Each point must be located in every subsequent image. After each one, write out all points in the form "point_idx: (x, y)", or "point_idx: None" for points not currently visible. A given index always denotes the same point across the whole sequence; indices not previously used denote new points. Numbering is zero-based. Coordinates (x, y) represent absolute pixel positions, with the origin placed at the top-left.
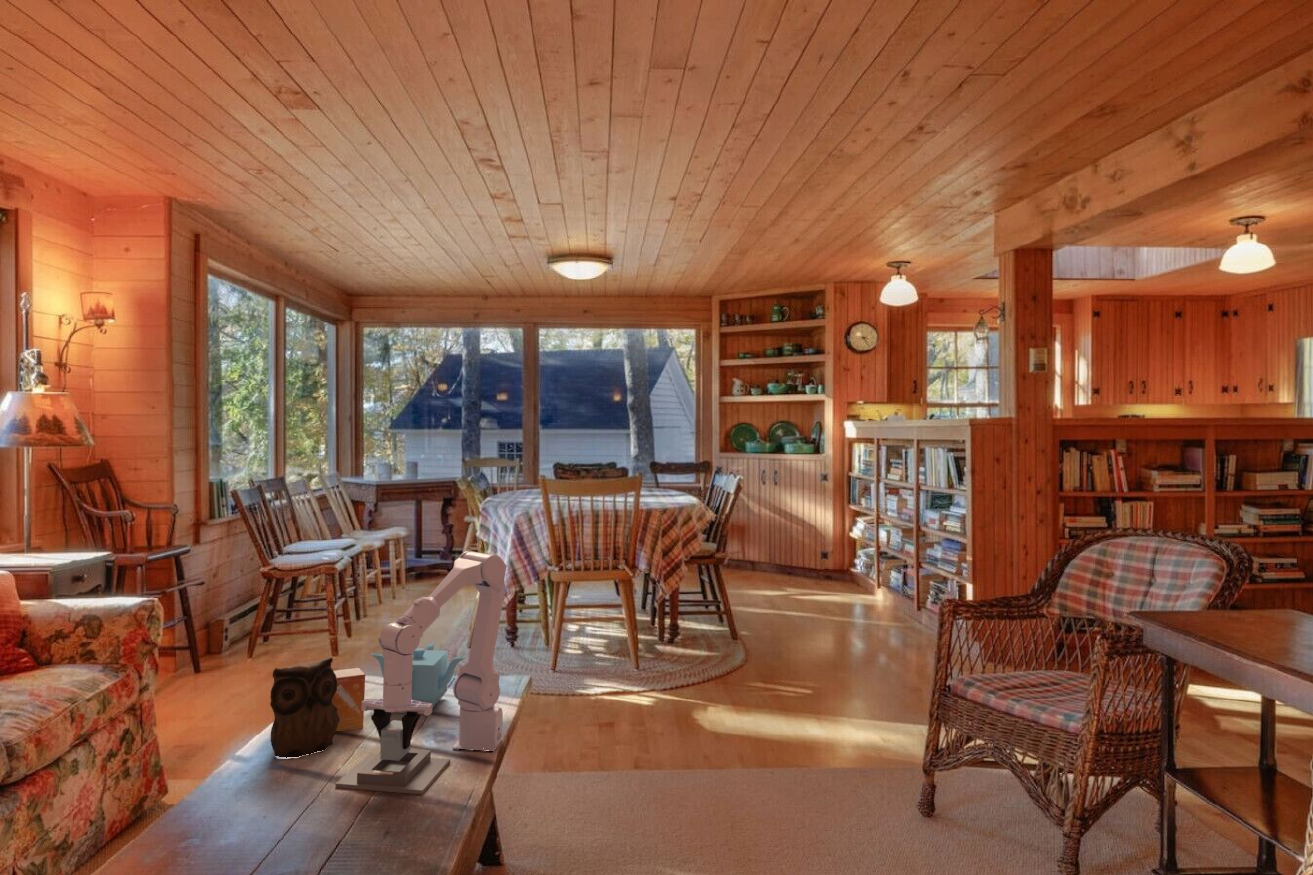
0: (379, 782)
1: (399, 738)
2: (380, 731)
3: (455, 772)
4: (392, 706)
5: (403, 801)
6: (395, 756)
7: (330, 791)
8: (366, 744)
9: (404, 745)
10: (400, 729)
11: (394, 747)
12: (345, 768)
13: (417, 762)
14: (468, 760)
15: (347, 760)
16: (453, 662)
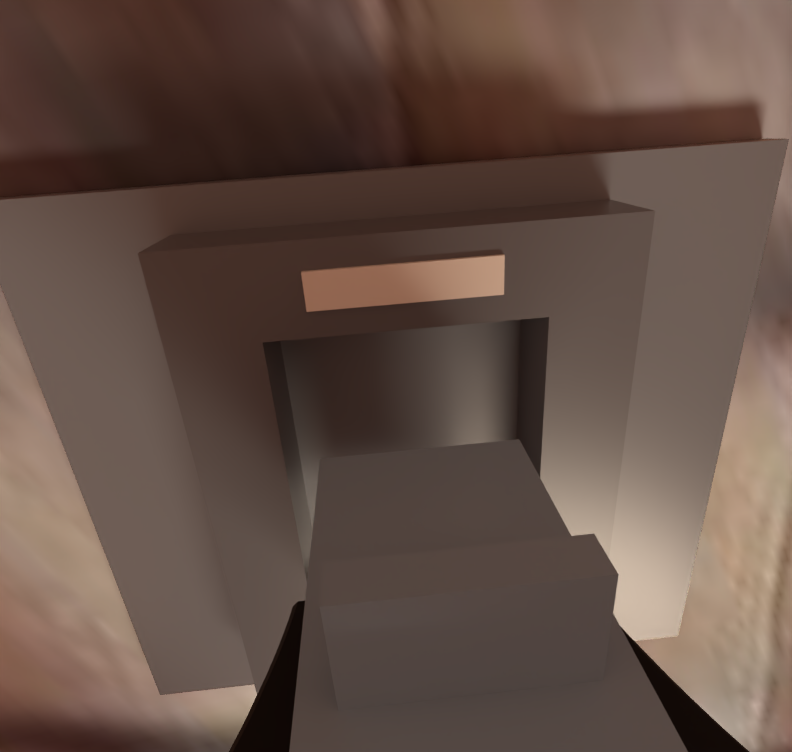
0: (408, 218)
1: (304, 670)
2: (691, 746)
3: (40, 583)
4: None
5: (47, 3)
6: (359, 479)
7: (784, 47)
8: (731, 716)
9: (300, 628)
10: None
11: (378, 547)
12: (769, 451)
13: (231, 546)
14: (86, 719)
15: (784, 545)
16: None
